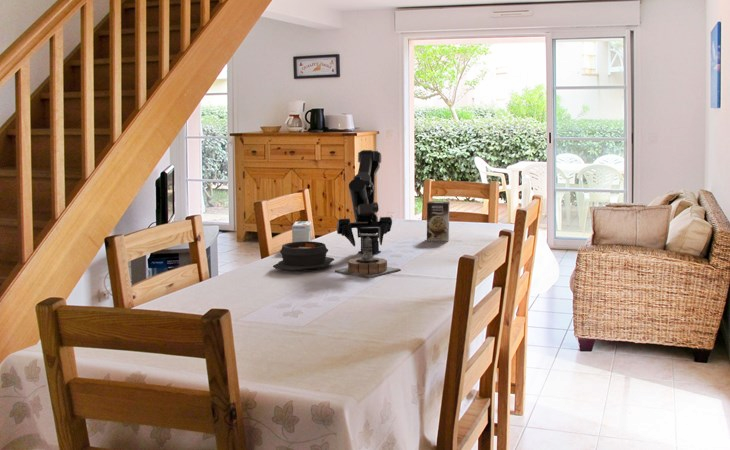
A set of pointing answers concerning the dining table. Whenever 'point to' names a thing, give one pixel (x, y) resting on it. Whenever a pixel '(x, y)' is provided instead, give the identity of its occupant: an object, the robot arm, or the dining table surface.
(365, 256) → the salt shaker
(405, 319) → the dining table surface
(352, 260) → the walnut collar
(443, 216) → the coffee box
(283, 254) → the casserole
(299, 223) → the light bulb box
